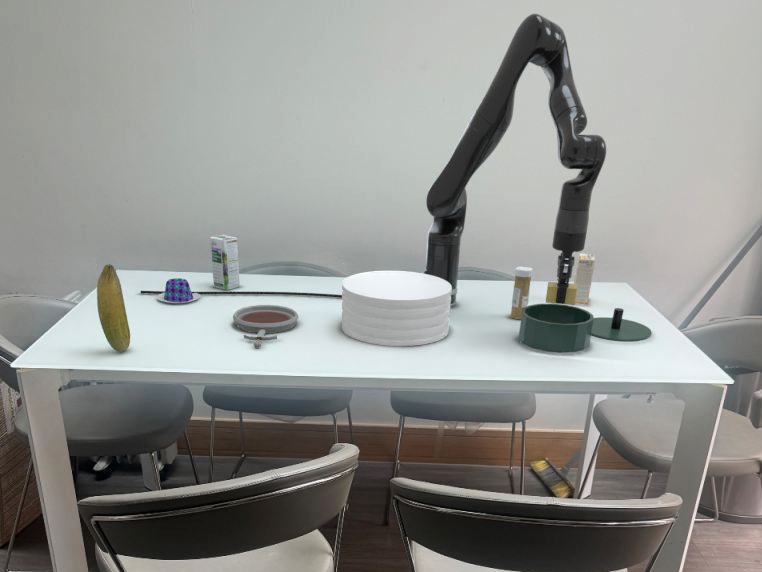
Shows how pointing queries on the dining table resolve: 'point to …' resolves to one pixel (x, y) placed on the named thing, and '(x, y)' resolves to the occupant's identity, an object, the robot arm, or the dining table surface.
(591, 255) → the supplement box
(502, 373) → the dining table surface
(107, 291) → the vegetable
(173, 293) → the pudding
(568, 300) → the butter
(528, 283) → the sprinkles bottle
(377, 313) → the plate stack
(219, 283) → the syrup box
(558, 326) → the pot
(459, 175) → the robot arm
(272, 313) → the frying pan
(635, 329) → the pot lid
